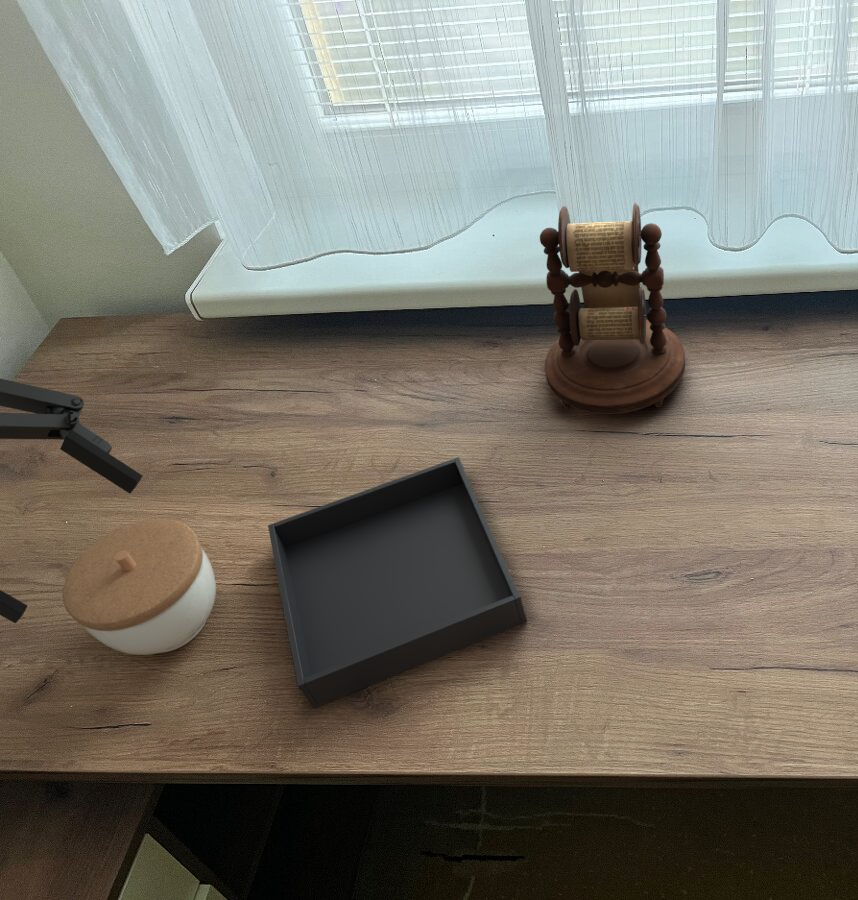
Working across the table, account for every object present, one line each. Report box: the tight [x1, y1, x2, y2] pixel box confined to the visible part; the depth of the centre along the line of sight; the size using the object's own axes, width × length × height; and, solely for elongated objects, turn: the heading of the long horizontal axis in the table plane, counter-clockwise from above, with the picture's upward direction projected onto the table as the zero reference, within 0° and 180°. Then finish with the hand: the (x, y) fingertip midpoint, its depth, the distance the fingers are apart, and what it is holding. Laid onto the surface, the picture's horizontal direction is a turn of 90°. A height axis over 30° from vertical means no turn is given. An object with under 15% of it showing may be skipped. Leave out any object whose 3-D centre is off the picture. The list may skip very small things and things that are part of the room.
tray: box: [267, 456, 528, 709], centre depth 75 cm, size 18×18×3 cm
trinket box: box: [61, 518, 217, 656], centre depth 73 cm, size 11×11×9 cm
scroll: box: [539, 202, 686, 415], centre depth 86 cm, size 15×15×20 cm
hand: (83, 546), depth 71 cm, fingers open, 13 cm apart
